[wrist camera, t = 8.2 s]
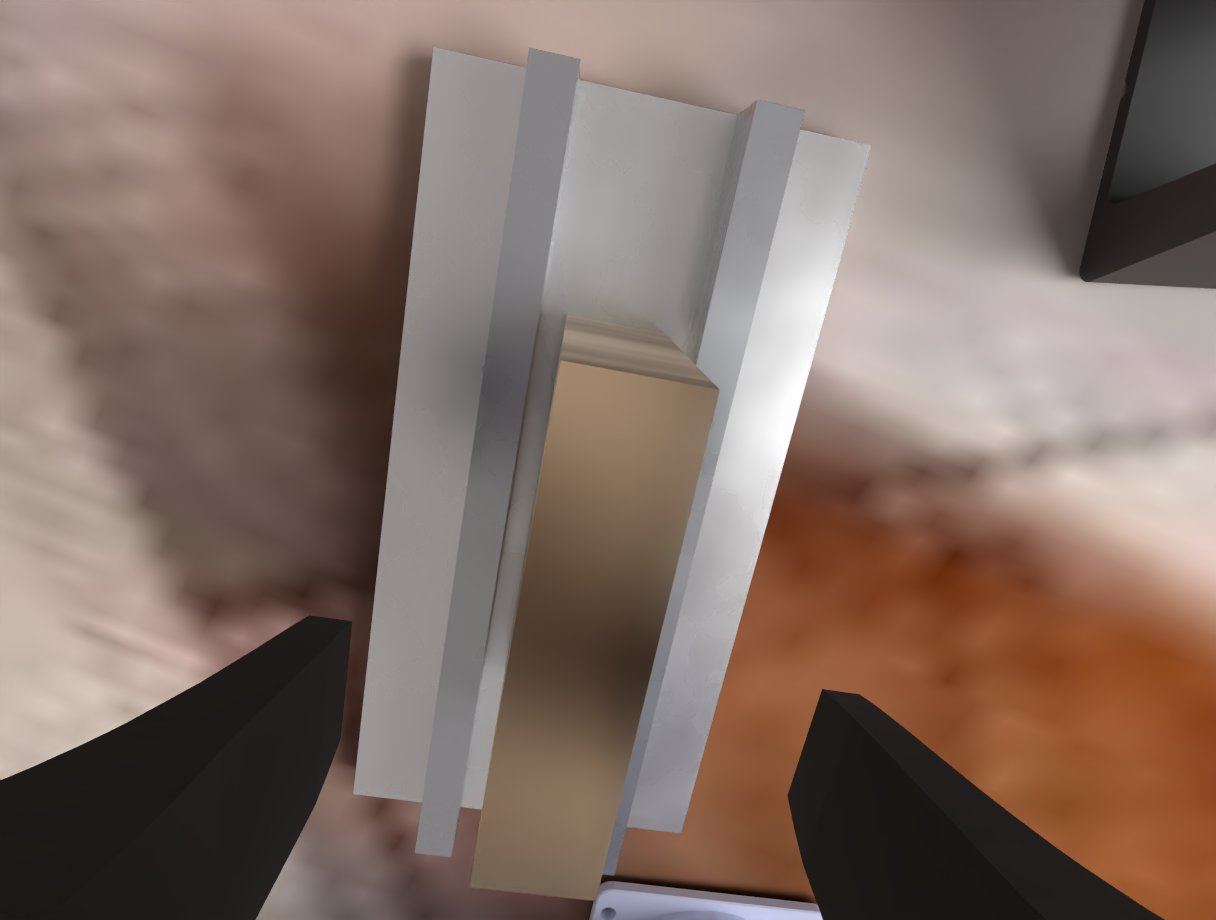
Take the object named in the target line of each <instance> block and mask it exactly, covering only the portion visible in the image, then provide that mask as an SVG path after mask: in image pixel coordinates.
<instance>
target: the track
mask: <svg viewBox="0 0 1216 920" xmlns="http://www.w3.org/2000/svg"><path fill="white" fill-rule="evenodd" d="M804 113H805V110H801V109H797V108H792V107H788V106H784V105H779V104H775V103H770V102H766V101H762V100H756V101H755V102H754V103H752V104H751V105H750V106H749V107H747V108H746V109H745V110H743V111H742V112H741V113H740V114H738V115H735V114H730V113H726V112H721V111H717V110H712V109H708V108H703V107H699V106H695V105H690V104H686V103H681V102H677V101H672V100H668V99H663V98H659V97H655V96H650V95H646V94H641V93H637V92H632V91H628V90H623V89H619V88H615V87H610V86H606V85H601V84H597V83H592V82H588V81H583V80H580V59H577V58H573V57H568V56H564V55H560V54H555V53H551V52H546V51H542V50H538V49H533V48H529V55H528V62H527V68H526V67H521V66H517V65H512V64H508V63H503V62H499V61H494V60H490V59H486V58H481V57H477V56H472V55H468V54H463V53H459V52H454V51H450V50H446V49H441V48H437V47H433V55H432V64H431V74H430V83H429V92H428V102H427V111H426V120H425V130H424V139H423V148H422V158H421V167H420V176H419V186H418V195H417V204H416V214H415V223H414V232H413V242H412V251H411V260H410V270H409V279H408V288H407V298H406V307H405V316H404V326H403V335H402V344H401V354H400V363H399V372H398V382H397V391H396V400H395V410H394V419H393V428H392V438H391V447H390V456H389V466H388V475H387V484H386V494H385V503H384V513H383V522H382V531H381V541H380V550H379V559H378V569H377V578H376V587H375V597H374V606H373V615H372V625H371V634H370V643H369V653H368V662H367V671H366V681H365V690H364V699H363V709H362V718H361V727H360V737H359V746H358V755H357V765H356V774H355V783H354V793H353V794H357V795H365V796H373V797H382V798H390V799H398V800H407V801H415V802H422V806H421V813H420V820H419V827H418V834H417V841H416V848H415V853H418V854H427V855H436V856H445V857H451V856H452V851H453V846H454V841H455V836H456V831H457V826H458V822H459V817H460V812H461V807H465V808H474V809H482V806H483V800H484V794H485V788H486V782H487V776H488V770H489V764H490V758H491V752H492V746H493V740H494V733H495V727H496V721H497V715H498V709H499V703H500V697H501V691H502V685H503V679H504V673H505V667H506V661H507V655H508V650H509V644H510V638H511V632H512V627H513V621H514V615H515V609H516V603H517V598H518V592H519V586H520V580H521V575H522V569H523V563H524V557H525V551H526V546H527V540H528V534H529V528H530V523H531V517H532V511H533V505H534V499H535V494H536V488H537V482H538V476H539V470H540V465H541V459H542V453H543V447H544V442H545V436H546V430H547V424H548V418H549V413H550V407H551V401H552V395H553V390H554V384H555V378H556V372H557V366H558V361H559V355H560V349H561V343H562V338H563V332H564V326H565V320H566V314H571V315H577V316H582V317H587V318H592V319H598V320H603V321H608V322H613V323H618V324H624V325H629V326H634V327H639V328H645V329H650V330H655V331H660V332H664V333H665V334H666V335H667V336H668V337H669V338H670V339H671V340H672V341H673V342H674V343H675V344H676V345H677V346H678V347H679V348H680V349H681V350H682V351H683V352H684V354H685V355H686V356H687V357H688V358H689V359H690V360H691V361H692V362H693V363H694V364H695V365H696V366H697V367H698V368H699V369H700V370H701V371H702V372H703V373H704V374H705V375H706V376H707V377H708V378H709V379H710V380H711V381H712V382H713V383H714V384H715V385H716V386H717V387H718V388H719V389H720V392H719V396H718V400H717V404H716V408H715V412H714V416H713V421H712V425H711V429H710V433H709V437H708V441H707V445H706V449H705V454H704V458H703V462H702V466H701V470H700V474H699V478H698V482H697V486H696V491H695V495H694V499H693V503H692V507H691V511H690V515H689V519H688V524H687V528H686V532H685V536H684V540H683V544H682V548H681V552H680V556H679V561H678V565H677V569H676V573H675V577H674V581H673V585H672V589H671V594H670V598H669V602H668V606H667V610H666V614H665V618H664V622H663V626H662V631H661V635H660V639H659V643H658V647H657V651H656V655H655V659H654V664H653V668H652V672H651V676H650V680H649V684H648V688H647V692H646V696H645V701H644V705H643V709H642V713H641V717H640V721H639V725H638V729H637V734H636V738H635V742H634V746H633V750H632V754H631V758H630V762H629V766H628V771H627V775H626V779H625V783H624V787H623V791H622V795H621V799H620V804H619V808H618V812H617V816H616V820H615V824H614V828H613V832H612V837H611V841H610V845H609V849H608V853H607V857H606V861H605V865H604V869H603V874H605V875H615V871H616V867H617V863H618V859H619V855H620V851H621V847H622V843H623V839H624V835H625V831H626V827H632V828H641V829H649V830H658V831H666V832H674V833H681V831H682V827H683V823H684V820H685V816H686V813H687V809H688V805H689V802H690V798H691V795H692V791H693V788H694V784H695V780H696V777H697V773H698V770H699V766H700V762H701V759H702V755H703V752H704V748H705V744H706V741H707V737H708V734H709V730H710V726H711V723H712V719H713V716H714V712H715V708H716V705H717V701H718V698H719V694H720V690H721V687H722V683H723V680H724V676H725V672H726V669H727V665H728V662H729V658H730V654H731V651H732V647H733V644H734V640H735V636H736V633H737V629H738V626H739V622H740V618H741V615H742V611H743V608H744V604H745V600H746V597H747V593H748V590H749V586H750V582H751V579H752V575H753V572H754V568H755V564H756V561H757V557H758V554H759V550H760V546H761V543H762V539H763V536H764V532H765V528H766V525H767V521H768V518H769V514H770V510H771V507H772V503H773V500H774V496H775V492H776V489H777V485H778V482H779V478H780V474H781V471H782V467H783V464H784V460H785V456H786V453H787V449H788V446H789V442H790V439H791V435H792V431H793V428H794V424H795V421H796V417H797V413H798V410H799V406H800V403H801V399H802V395H803V392H804V388H805V385H806V381H807V377H808V374H809V370H810V367H811V363H812V359H813V356H814V352H815V349H816V345H817V341H818V338H819V334H820V331H821V327H822V323H823V320H824V316H825V313H826V309H827V305H828V302H829V298H830V295H831V291H832V287H833V284H834V280H835V277H836V273H837V269H838V266H839V262H840V259H841V255H842V251H843V248H844V244H845V241H846V237H847V233H848V230H849V226H850V223H851V219H852V215H853V212H854V208H855V205H856V201H857V197H858V194H859V190H860V187H861V183H862V179H863V176H864V172H865V169H866V165H867V161H868V158H869V154H870V151H871V147H872V145H868V144H864V143H859V142H855V141H850V140H846V139H841V138H837V137H832V136H828V135H823V134H819V133H815V132H810V131H806V130H801V125H802V121H803V117H804Z"/></svg>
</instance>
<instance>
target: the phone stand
mask: <svg viewBox="0 0 1216 920" xmlns="http://www.w3.org/2000/svg"><path fill="white" fill-rule="evenodd" d="M1125 82H1128V83H1129V89H1128V92H1127V94H1126V95H1125V96H1124V97H1123V98H1121V101H1120V105H1119V109H1118V113H1117V117H1116V121H1115V125H1114V130H1113V134H1112V138H1111V142H1110V146H1109V150H1108V154H1107V159H1106V163H1105V167H1104V171H1103V175H1102V179H1101V183H1100V187H1099V192H1098V196H1097V200H1096V204H1095V208H1094V212H1093V216H1092V221H1091V225H1090V229H1089V233H1088V237H1087V241H1086V245H1085V250H1084V254H1083V258H1082V262H1081V266H1080V276H1081V278H1082V280H1083V281H1085V282H1099V283H1118V284H1137V285H1156V286H1175V287H1194V288H1214V289H1216V0H1145V1H1144V5H1143V9H1142V14H1141V18H1140V22H1139V26H1138V30H1137V34H1136V38H1135V43H1134V47H1133V51H1132V55H1131V59H1130V63H1129V67H1128V72H1127V76H1126V80H1125Z"/></svg>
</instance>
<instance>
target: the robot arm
mask: <svg viewBox="0 0 1216 920" xmlns="http://www.w3.org/2000/svg"><path fill="white" fill-rule="evenodd" d="M351 627H352V622H351V621H344V620H337V619H330V618H323V617H317V616H308V617H306V618H304V619H303V620H301V621H299V622H298V623H296V624H294V625H293V626H291V627H290V628H288V629H286V630H285V631H283V632H282V633H280V634H278V635H277V636H275V637H274V638H272V639H271V640H269V641H267V642H266V643H264V644H263V645H261V646H259V647H258V648H256V649H255V650H253V651H251V652H250V653H248V654H247V655H245V656H243V657H242V658H240V659H238V660H237V661H235V662H233V663H232V664H230V665H229V666H227V667H225V668H224V669H222V670H220V671H219V672H217V673H215V674H214V675H212V676H210V677H209V678H207V679H205V680H204V681H202V682H200V683H199V684H197V685H195V686H193V687H191V688H190V689H188V690H186V691H184V692H182V693H180V694H179V695H177V696H175V697H173V698H171V699H169V700H168V701H166V702H164V703H162V704H160V705H158V706H157V707H155V708H153V709H151V710H149V711H147V712H146V713H144V714H142V715H140V716H138V717H136V718H135V719H133V720H131V721H129V722H127V723H125V724H123V725H121V726H119V727H117V728H115V729H113V730H111V731H109V732H107V733H105V734H103V735H101V736H99V737H97V738H95V739H93V740H91V741H89V742H87V743H85V744H83V745H80V746H78V747H76V748H74V749H72V750H69V751H67V752H65V753H63V754H60V755H58V756H56V757H54V758H52V759H49V760H47V761H45V762H43V763H40V764H38V765H36V766H34V767H32V768H29V769H27V770H24V771H22V772H20V773H17V774H15V775H13V776H10V777H8V778H5V779H3V780H0V920H255V919H256V918H257V916H258V914H259V912H260V910H261V908H262V906H263V904H264V902H265V900H266V898H267V897H268V895H269V893H270V891H271V889H272V887H273V885H274V883H275V881H276V879H277V878H278V876H279V874H280V872H281V870H282V868H283V866H284V864H285V862H286V860H287V859H288V857H289V855H290V853H291V851H292V849H293V847H294V845H295V843H296V841H297V839H298V837H299V835H300V833H301V831H302V830H303V828H304V826H305V824H306V822H307V820H308V818H309V816H310V814H311V812H312V810H313V808H314V806H315V804H316V802H317V799H318V796H319V794H320V791H321V789H322V786H323V784H324V781H325V779H326V776H327V773H328V771H329V768H330V765H331V763H332V760H333V757H334V755H335V752H336V749H337V747H338V744H339V741H340V739H341V729H342V718H343V708H344V698H345V688H346V678H347V668H348V657H349V647H350V637H351ZM788 800H789V805H790V809H791V814H792V819H793V824H794V829H795V833H796V837H797V841H798V845H799V850H800V854H801V858H802V862H803V865H804V868H805V871H806V874H807V877H808V879H809V882H810V885H811V888H812V891H813V893H814V896H815V899H816V902H817V904H814V903H805V902H796V901H787V900H778V899H769V898H760V897H751V896H742V895H734V894H725V893H716V892H707V891H698V890H689V889H680V888H671V887H662V886H653V885H644V884H635V883H626V882H617V881H607V882H605V883H602V884H601V885H600V886H599V890H598V894H597V898H596V901H593V906H592V910H591V914H590V918H589V920H1164V919H1162V918H1161V917H1159V916H1157V915H1156V914H1154V913H1153V912H1151V911H1149V910H1148V909H1146V908H1145V907H1143V906H1142V905H1140V904H1138V903H1137V902H1135V901H1134V900H1132V899H1131V898H1129V897H1128V896H1126V895H1125V894H1123V893H1122V892H1120V891H1119V890H1117V889H1116V888H1114V887H1113V886H1111V885H1110V884H1108V883H1107V882H1105V881H1104V880H1102V879H1101V878H1099V877H1098V876H1096V875H1095V874H1093V873H1092V872H1090V871H1089V870H1087V869H1086V868H1084V867H1083V866H1081V865H1080V864H1079V863H1077V862H1076V861H1074V860H1073V859H1072V858H1070V857H1069V856H1067V855H1066V854H1064V853H1063V852H1062V851H1060V850H1059V849H1057V848H1056V847H1055V846H1053V845H1052V844H1051V843H1049V842H1048V841H1047V840H1045V839H1044V838H1043V837H1041V836H1040V835H1039V834H1037V833H1036V832H1034V831H1033V830H1032V829H1030V828H1029V827H1028V826H1026V825H1025V824H1024V823H1022V822H1021V821H1020V820H1018V819H1017V818H1016V817H1014V816H1013V815H1012V814H1010V813H1009V812H1008V811H1007V810H1005V809H1004V808H1003V807H1001V806H1000V805H999V804H998V803H996V802H995V801H994V800H992V799H991V798H990V797H989V796H987V795H986V794H985V793H984V792H982V791H981V790H980V789H979V788H977V787H976V786H975V785H973V784H972V783H971V782H970V781H969V780H967V779H966V778H965V777H964V776H962V775H961V774H960V773H959V772H957V771H956V770H955V769H954V768H952V767H951V766H950V765H949V764H948V763H946V762H945V761H944V760H943V759H941V758H940V757H939V756H938V755H937V754H935V753H934V752H933V751H932V750H930V749H929V748H928V747H927V746H926V745H924V744H923V743H922V742H921V741H920V740H918V739H917V738H916V737H915V736H913V735H912V734H911V733H910V732H909V731H907V730H906V729H905V728H904V727H902V726H901V725H900V724H899V723H897V722H896V721H895V720H894V719H892V718H891V717H890V716H889V715H887V714H886V713H885V712H883V711H882V710H881V709H879V708H878V707H877V706H875V705H874V704H873V703H871V702H870V701H868V700H867V699H865V698H864V697H862V696H861V695H859V694H852V693H845V692H838V691H831V690H824V689H822V691H821V695H820V698H819V701H818V704H817V707H816V710H815V713H814V716H813V719H812V722H811V725H810V728H809V731H808V734H807V738H806V741H805V744H804V747H803V750H802V753H801V756H800V759H799V762H798V765H797V768H796V771H795V774H794V778H793V781H792V784H791V787H790V790H789V793H788ZM605 908H611V909H605Z"/></svg>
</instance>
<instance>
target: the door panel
mask: <svg viewBox="0 0 1216 920" xmlns="http://www.w3.org/2000/svg"><path fill="white" fill-rule="evenodd" d="M719 392H720V389H719V388H718V387H717V386H716V385H715V384H714V383H713V382H712V381H711V380H710V379H709V378H708V377H707V376H706V375H705V374H704V373H703V372H702V371H701V370H700V369H699V368H698V367H697V366H696V365H695V364H694V363H693V362H692V361H691V360H690V359H689V358H688V357H687V356H686V355H685V354H684V352H683V351H682V350H681V349H680V348H679V347H678V346H677V345H676V344H675V343H674V342H673V341H672V340H671V339H670V338H669V337H668V336H667V335H666V334H665V333H664V332H660V331H655V330H650V329H645V328H639V327H634V326H629V325H624V324H618V323H613V322H608V321H603V320H598V319H592V318H587V317H582V316H577V315H571V314H566V320H565V326H564V332H563V338H562V343H561V349H560V355H559V361H558V366H557V372H556V378H555V384H554V390H553V395H552V401H551V407H550V413H549V418H548V424H547V430H546V436H545V442H544V447H543V453H542V459H541V465H540V470H539V476H538V482H537V488H536V494H535V499H534V505H533V511H532V517H531V523H530V528H529V534H528V540H527V546H526V551H525V557H524V563H523V569H522V575H521V580H520V586H519V592H518V598H517V603H516V609H515V615H514V621H513V627H512V632H511V638H510V644H509V650H508V655H507V661H506V667H505V673H504V679H503V685H502V691H501V697H500V703H499V709H498V715H497V721H496V727H495V733H494V740H493V746H492V752H491V758H490V764H489V770H488V776H487V782H486V788H485V794H484V800H483V806H482V812H481V818H480V824H479V830H478V836H477V842H476V848H475V854H474V860H473V867H472V873H471V879H470V885H469V887H471V888H480V889H489V890H498V891H508V892H517V893H526V894H535V895H544V896H554V897H563V898H572V899H581V900H590V901H596V898H597V894H598V890H599V886H600V882H601V878H602V874H603V869H604V865H605V861H606V857H607V853H608V849H609V845H610V841H611V837H612V832H613V828H614V824H615V820H616V816H617V812H618V808H619V804H620V799H621V795H622V791H623V787H624V783H625V779H626V775H627V771H628V766H629V762H630V758H631V754H632V750H633V746H634V742H635V738H636V734H637V729H638V725H639V721H640V717H641V713H642V709H643V705H644V701H645V696H646V692H647V688H648V684H649V680H650V676H651V672H652V668H653V664H654V659H655V655H656V651H657V647H658V643H659V639H660V635H661V631H662V626H663V622H664V618H665V614H666V610H667V606H668V602H669V598H670V594H671V589H672V585H673V581H674V577H675V573H676V569H677V565H678V561H679V556H680V552H681V548H682V544H683V540H684V536H685V532H686V528H687V524H688V519H689V515H690V511H691V507H692V503H693V499H694V495H695V491H696V486H697V482H698V478H699V474H700V470H701V466H702V462H703V458H704V454H705V449H706V445H707V441H708V437H709V433H710V429H711V425H712V421H713V416H714V412H715V408H716V404H717V400H718V396H719Z"/></svg>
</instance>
